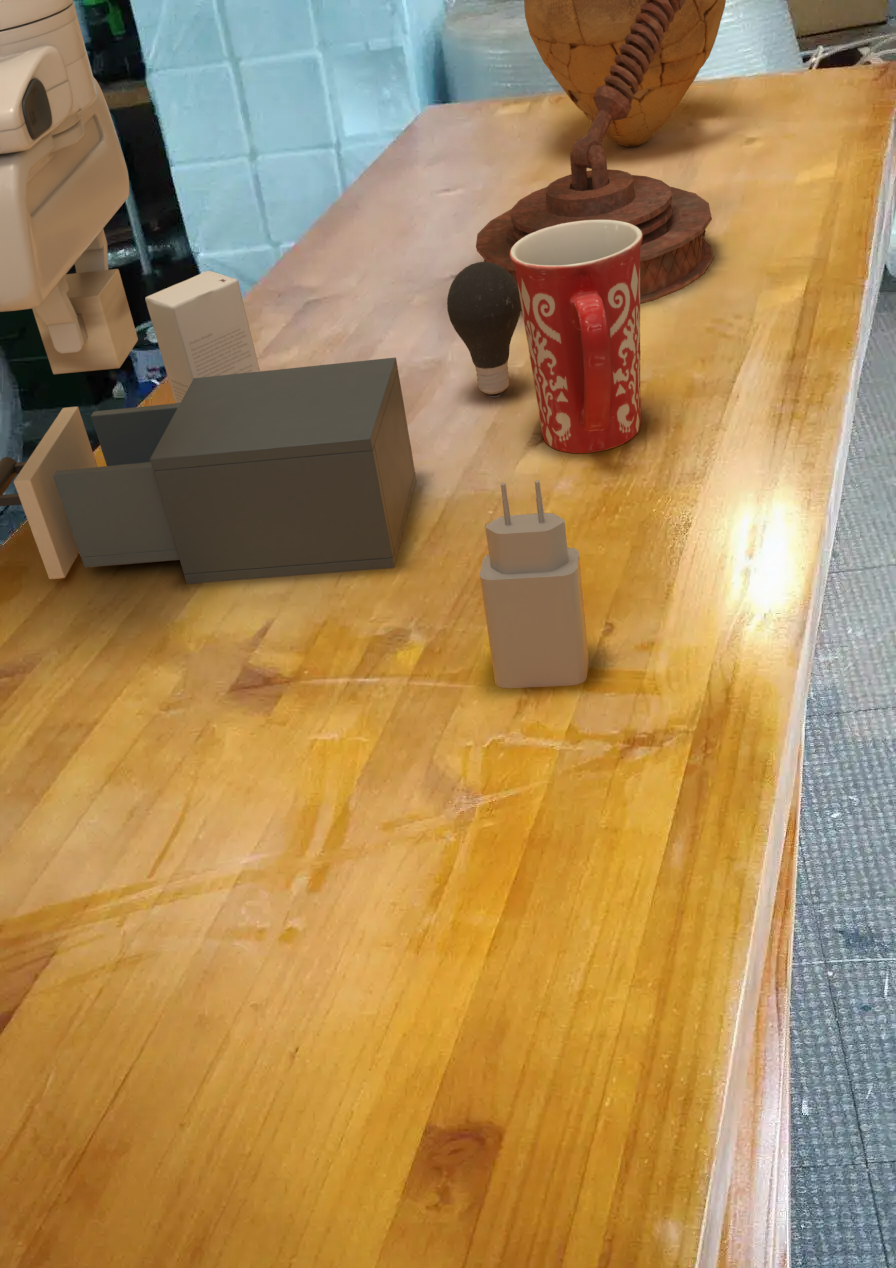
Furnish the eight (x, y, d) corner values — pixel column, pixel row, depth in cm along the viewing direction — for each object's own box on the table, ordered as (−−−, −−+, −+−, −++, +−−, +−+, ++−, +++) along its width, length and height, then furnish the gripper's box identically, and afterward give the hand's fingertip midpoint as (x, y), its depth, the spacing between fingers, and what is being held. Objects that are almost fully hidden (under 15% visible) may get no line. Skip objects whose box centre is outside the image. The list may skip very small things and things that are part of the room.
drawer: (-17, 585, 103) (-56, 487, 98) (32, 507, 111) (-1, 413, 106) (234, 564, 100) (207, 463, 95) (266, 486, 108) (243, 389, 103)
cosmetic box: (246, 421, 119) (209, 268, 111) (276, 433, 117) (240, 278, 108) (185, 450, 117) (142, 295, 109) (213, 463, 114) (172, 306, 106)
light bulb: (450, 411, 115) (431, 279, 108) (472, 380, 119) (455, 251, 112) (519, 411, 113) (503, 277, 106) (539, 380, 117) (525, 248, 110)
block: (52, 374, 91) (29, 302, 88) (73, 346, 94) (51, 275, 91) (120, 368, 90) (98, 295, 87) (138, 340, 93) (118, 268, 90)
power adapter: (586, 685, 85) (568, 492, 77) (493, 689, 86) (466, 499, 78) (589, 656, 87) (572, 464, 79) (499, 660, 88) (473, 472, 80)
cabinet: (186, 585, 101) (149, 459, 94) (225, 498, 109) (193, 378, 103) (394, 568, 98) (370, 438, 92) (416, 481, 107) (396, 357, 101)
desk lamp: (374, 318, 132) (274, -252, 104) (620, 202, 145) (589, -332, 117) (536, 365, 119) (471, -270, 92) (790, 233, 132) (799, -357, 105)
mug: (526, 415, 112) (506, 229, 103) (644, 398, 112) (635, 209, 102) (536, 490, 103) (514, 294, 94) (664, 472, 102) (656, 272, 93)
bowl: (520, 140, 165) (499, -73, 151) (694, 103, 165) (689, -112, 152) (564, 192, 149) (545, -40, 136) (756, 151, 150) (756, -83, 136)
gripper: (18, 38, 89) (86, 273, 99) (-110, 139, 75) (-15, 403, 84) (116, 25, 88) (176, 264, 98) (5, 124, 74) (88, 394, 83)
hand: (86, 330), depth 91 cm, fingers closed on block, 4 cm apart
